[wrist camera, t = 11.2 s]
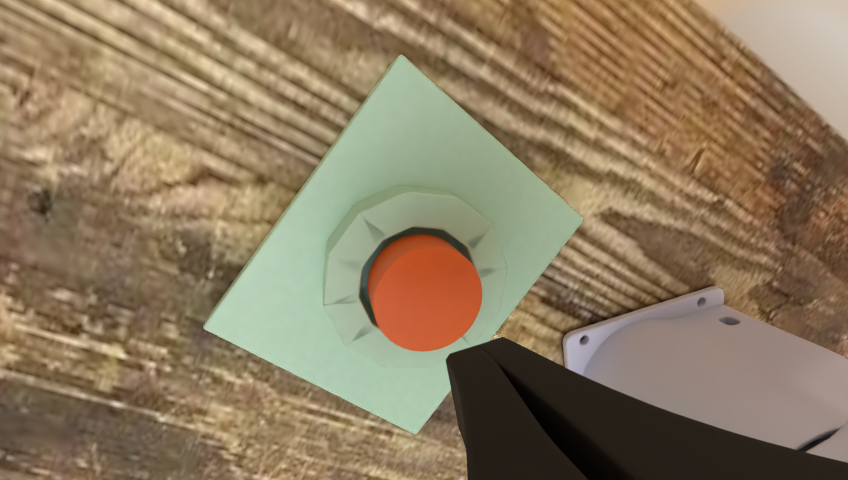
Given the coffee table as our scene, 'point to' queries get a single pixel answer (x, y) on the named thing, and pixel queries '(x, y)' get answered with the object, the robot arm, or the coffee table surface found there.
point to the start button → (423, 292)
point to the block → (378, 227)
